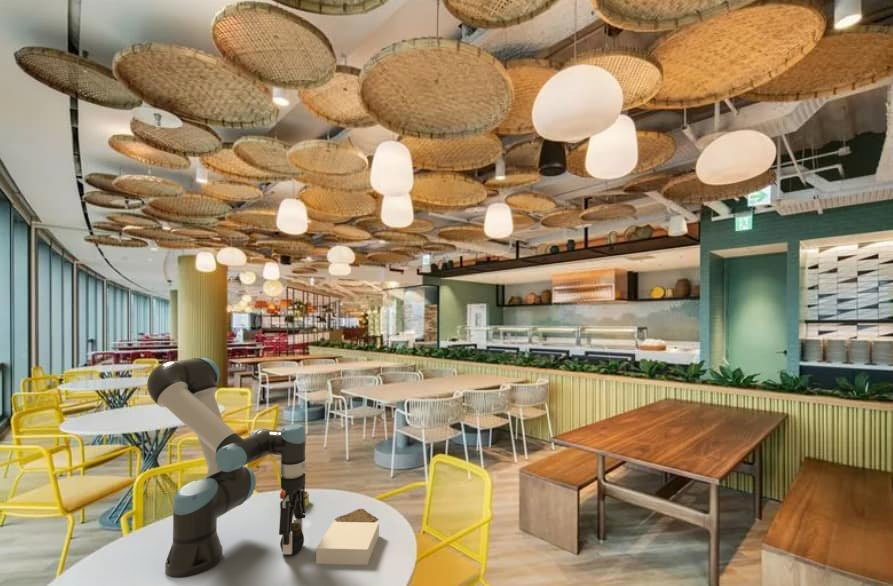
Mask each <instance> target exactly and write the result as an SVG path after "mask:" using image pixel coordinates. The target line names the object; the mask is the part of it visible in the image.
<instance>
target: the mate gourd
mask: <svg viewBox="0 0 893 586" xmlns="http://www.w3.org/2000/svg"><path fill="white" fill-rule="evenodd" d="M301 526H302V527H303V524H302V525H301V523H296V522H294V521H293V522H292V527H291V532H292V554H285V555H286V556H293V555H296V554H298V553H299V552H300V551H301V550H302V548H303V546H304V543H305V537H304V533H303V528H302V529H301ZM279 545H280V549H281V552H282V553H283V535H281V539H280V542H279Z"/></svg>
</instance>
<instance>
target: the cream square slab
mask: <svg viewBox="0 0 893 586" xmlns="http://www.w3.org/2000/svg"><path fill="white" fill-rule="evenodd" d="M379 538H380V522H337V521H332V523H331V524H330V526H329V528H328V529H327V531H326V533H325V534H324V535H323V537H322V538H321V540H320V542H318V545H317V547H316V548H315V549H316V551H315V552H316V553H315V564H318V565H319V564H320V565H321V564H322V565H323V564H324V565H358V566H359V565H361V566H365V565H366V566H367V565H369V562H370V560H371V556H372V555H373V552H374V550H375V547H376V544H377V543H378V542H377V541H378V539H379Z"/></svg>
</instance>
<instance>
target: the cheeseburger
mask: <svg viewBox="0 0 893 586" xmlns="http://www.w3.org/2000/svg"><path fill="white" fill-rule="evenodd" d="M285 493H286V492H285V491H284V490H283V489H282V488H281V491H280V494H279V498H280V499H281V501H284V500H285V499H284V498H285ZM309 496H310V493H309V492H308V491H307V490H305V508H307V507H308V506H309V503H310V499H309Z"/></svg>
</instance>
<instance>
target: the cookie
mask: <svg viewBox="0 0 893 586" xmlns="http://www.w3.org/2000/svg"><path fill="white" fill-rule="evenodd" d="M334 521H335V522H373V523H376V522H377V521H379V518H378V517H376V516H375V515H373V514H372V513H370V512H369V511H367V510H365V509H364V508H358V509H355V510H353V511H351V512H348V513H346V514H344V515H343V514H342V515H340V516H338V517H336V518H334Z"/></svg>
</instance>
